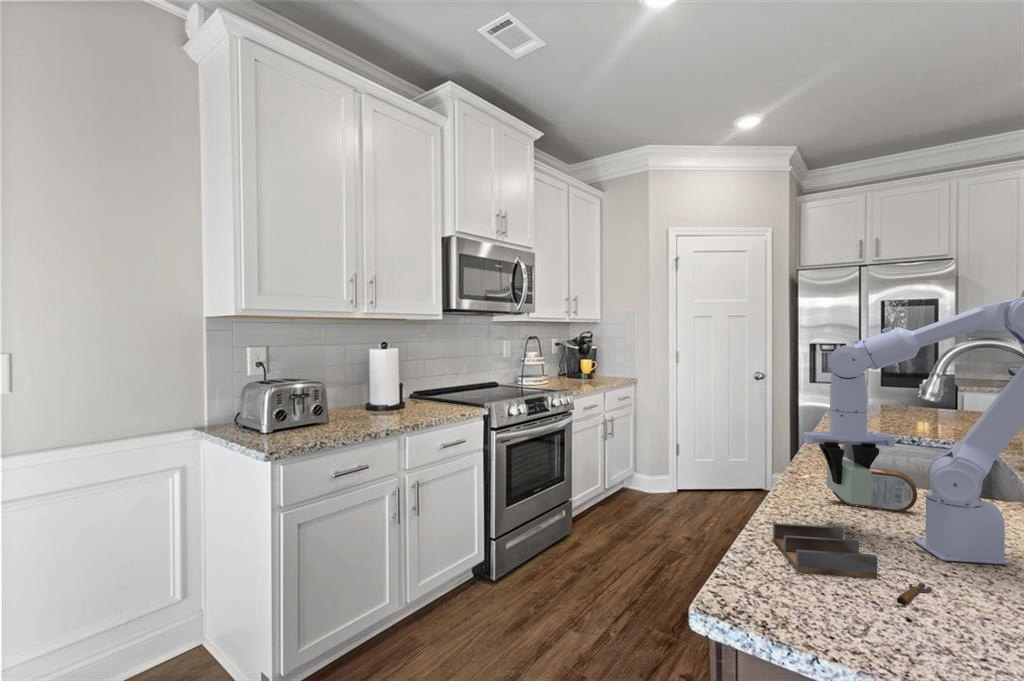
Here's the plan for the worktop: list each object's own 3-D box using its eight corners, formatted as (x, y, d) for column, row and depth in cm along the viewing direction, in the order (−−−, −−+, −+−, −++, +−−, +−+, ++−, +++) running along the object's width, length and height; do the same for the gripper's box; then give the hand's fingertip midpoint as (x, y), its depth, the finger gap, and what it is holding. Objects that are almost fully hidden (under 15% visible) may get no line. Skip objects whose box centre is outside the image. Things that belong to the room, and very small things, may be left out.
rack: (841, 545, 88) (841, 526, 88) (877, 578, 76) (877, 556, 76) (773, 540, 90) (773, 522, 90) (798, 572, 78) (798, 551, 78)
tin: (916, 512, 104) (916, 471, 104) (918, 516, 101) (918, 475, 101) (830, 499, 112) (830, 461, 112) (830, 503, 109) (830, 465, 109)
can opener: (905, 607, 69) (905, 599, 69) (885, 599, 71) (885, 591, 71) (937, 591, 73) (937, 583, 73) (918, 584, 75) (918, 577, 75)
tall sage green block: (844, 487, 99) (844, 457, 99) (871, 504, 89) (871, 470, 89) (826, 486, 99) (826, 456, 99) (851, 503, 89) (851, 470, 89)
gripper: (880, 408, 96) (880, 478, 96) (797, 406, 99) (797, 475, 99) (901, 413, 89) (901, 490, 89) (812, 412, 92) (812, 486, 92)
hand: (848, 483), depth 94 cm, fingers closed on tall sage green block, 3 cm apart
